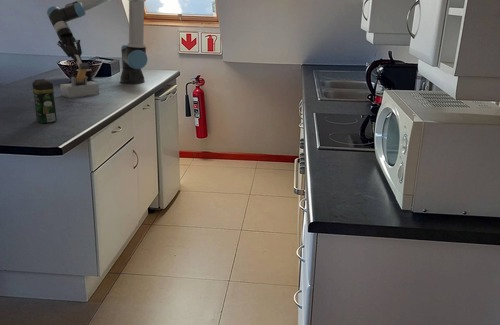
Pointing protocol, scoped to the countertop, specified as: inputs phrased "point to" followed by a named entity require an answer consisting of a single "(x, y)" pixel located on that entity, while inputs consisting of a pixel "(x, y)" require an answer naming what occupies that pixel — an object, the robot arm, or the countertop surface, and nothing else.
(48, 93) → the coffee jar
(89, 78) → the coffee mug
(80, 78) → the lever
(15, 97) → the countertop surface
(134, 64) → the robot arm
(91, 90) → the breaker box
